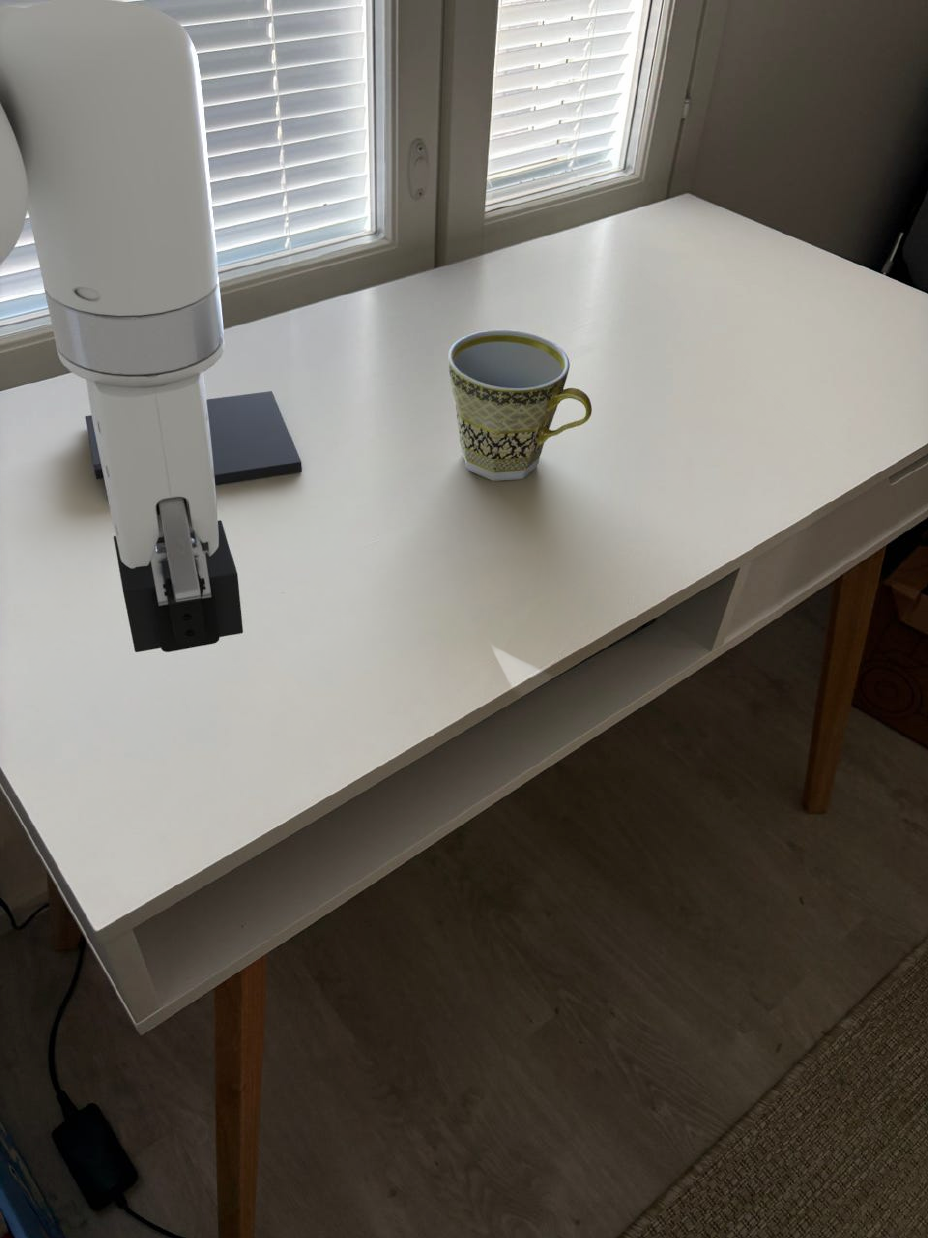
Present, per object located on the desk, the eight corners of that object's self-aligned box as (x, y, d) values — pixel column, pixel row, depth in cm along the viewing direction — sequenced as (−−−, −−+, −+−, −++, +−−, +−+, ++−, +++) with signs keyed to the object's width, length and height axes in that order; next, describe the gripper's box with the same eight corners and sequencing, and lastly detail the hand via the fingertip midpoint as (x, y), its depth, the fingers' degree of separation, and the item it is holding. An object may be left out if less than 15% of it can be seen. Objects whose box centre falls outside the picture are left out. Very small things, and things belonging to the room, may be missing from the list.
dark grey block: (135, 652, 56) (122, 592, 53) (125, 595, 60) (113, 535, 57) (243, 633, 58) (237, 573, 55) (227, 578, 61) (221, 519, 58)
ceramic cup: (420, 464, 88) (424, 361, 81) (482, 416, 95) (491, 317, 88) (548, 521, 83) (563, 416, 77) (604, 466, 90) (623, 365, 83)
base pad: (100, 502, 82) (95, 482, 81) (87, 424, 90) (83, 404, 89) (302, 471, 87) (300, 451, 85) (272, 400, 95) (271, 381, 93)
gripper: (41, 247, 51) (101, 532, 63) (65, 425, 39) (132, 732, 52) (192, 238, 53) (222, 515, 65) (257, 403, 42) (278, 702, 54)
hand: (182, 608), depth 58 cm, fingers closed on dark grey block, 5 cm apart
